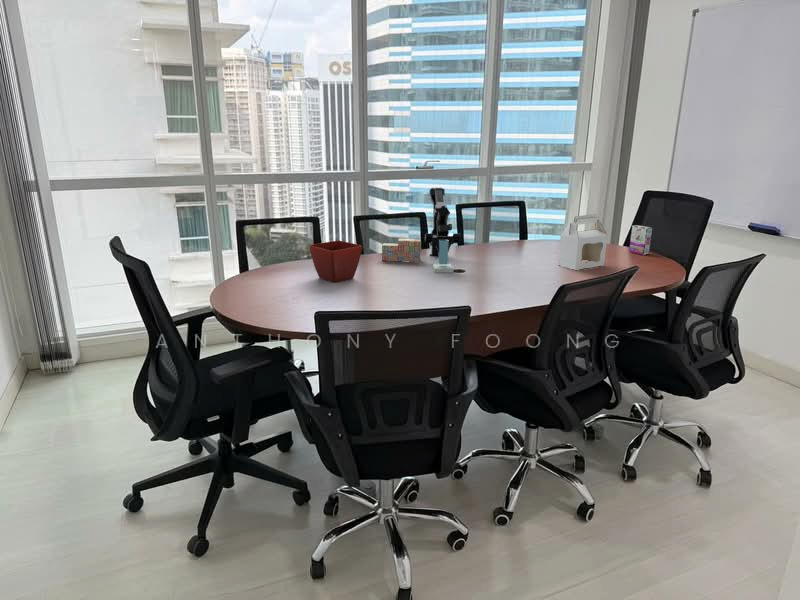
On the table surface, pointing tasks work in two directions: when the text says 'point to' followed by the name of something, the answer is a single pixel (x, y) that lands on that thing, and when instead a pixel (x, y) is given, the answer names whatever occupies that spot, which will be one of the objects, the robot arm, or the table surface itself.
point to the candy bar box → (640, 239)
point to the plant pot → (335, 260)
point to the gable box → (589, 239)
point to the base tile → (442, 268)
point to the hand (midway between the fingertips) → (443, 251)
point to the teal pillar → (443, 252)
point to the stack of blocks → (402, 250)
